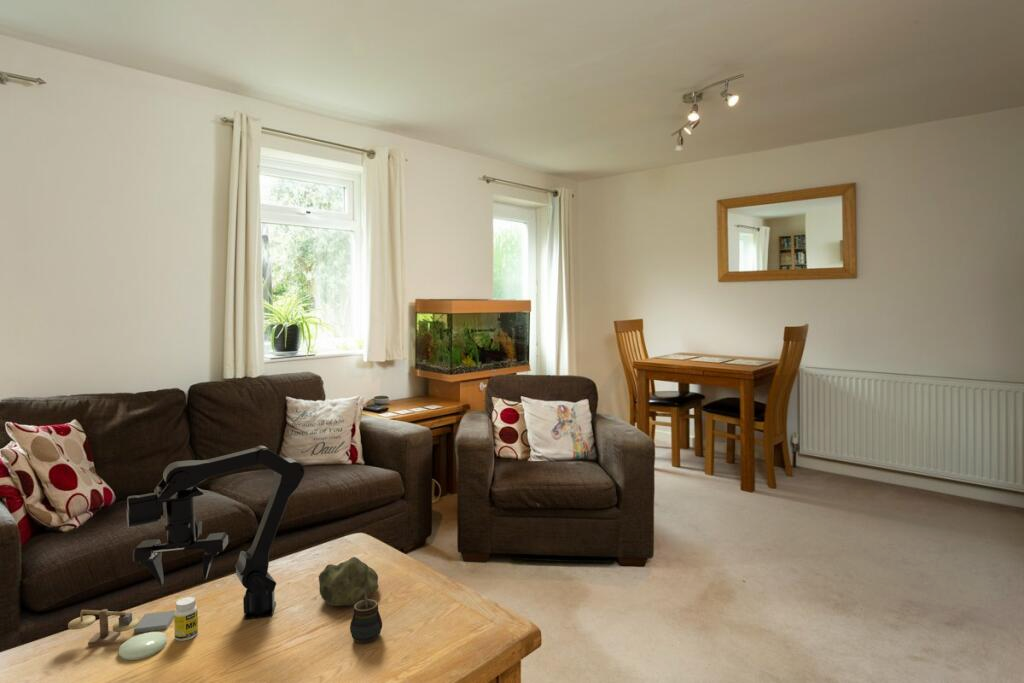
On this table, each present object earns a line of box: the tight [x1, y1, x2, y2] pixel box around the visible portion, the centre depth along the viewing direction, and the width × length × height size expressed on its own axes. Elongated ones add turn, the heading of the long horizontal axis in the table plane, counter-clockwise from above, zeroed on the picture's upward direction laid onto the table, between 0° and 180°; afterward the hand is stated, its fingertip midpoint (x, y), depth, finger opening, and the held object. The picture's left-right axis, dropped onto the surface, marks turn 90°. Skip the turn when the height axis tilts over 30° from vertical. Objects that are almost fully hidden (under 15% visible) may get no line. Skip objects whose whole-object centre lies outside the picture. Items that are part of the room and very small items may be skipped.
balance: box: [67, 608, 139, 648], centre depth 130 cm, size 14×5×8 cm, turn 105°
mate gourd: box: [349, 589, 383, 644], centre depth 131 cm, size 7×8×10 cm
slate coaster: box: [133, 609, 176, 634], centre depth 137 cm, size 7×7×1 cm
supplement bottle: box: [173, 596, 199, 642], centre depth 132 cm, size 5×5×8 cm
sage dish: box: [118, 631, 168, 661], centre depth 127 cm, size 9×9×1 cm
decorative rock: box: [318, 556, 379, 607], centre depth 150 cm, size 15×16×10 cm
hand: (183, 581), depth 132 cm, fingers open, 9 cm apart
